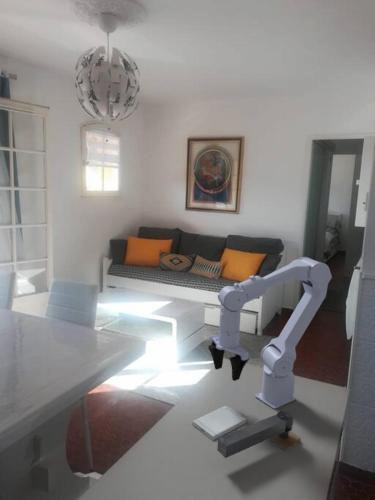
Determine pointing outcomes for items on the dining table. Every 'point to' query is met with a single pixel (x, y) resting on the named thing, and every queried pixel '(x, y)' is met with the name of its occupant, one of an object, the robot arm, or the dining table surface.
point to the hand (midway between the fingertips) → (226, 373)
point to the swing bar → (255, 433)
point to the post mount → (286, 439)
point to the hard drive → (219, 422)
